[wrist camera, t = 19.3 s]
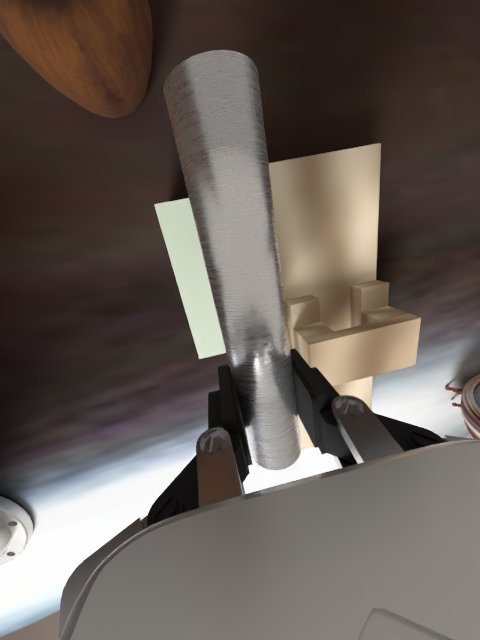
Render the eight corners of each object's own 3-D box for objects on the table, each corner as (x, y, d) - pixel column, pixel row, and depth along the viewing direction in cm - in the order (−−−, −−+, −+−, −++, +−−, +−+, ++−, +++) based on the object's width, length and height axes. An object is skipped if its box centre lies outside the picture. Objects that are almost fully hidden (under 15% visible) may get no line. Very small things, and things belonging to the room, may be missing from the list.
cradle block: (200, 335, 22) (199, 359, 17) (166, 212, 18) (154, 204, 13) (272, 319, 22) (287, 338, 18) (254, 196, 18) (268, 182, 14)
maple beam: (293, 432, 28) (321, 492, 21) (259, 173, 18) (291, 133, 11) (356, 415, 28) (403, 468, 22) (358, 155, 18) (445, 106, 12)
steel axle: (291, 418, 14) (310, 462, 12) (246, 429, 14) (253, 476, 11) (249, 105, 8) (267, 41, 6) (172, 119, 8) (151, 60, 6)
